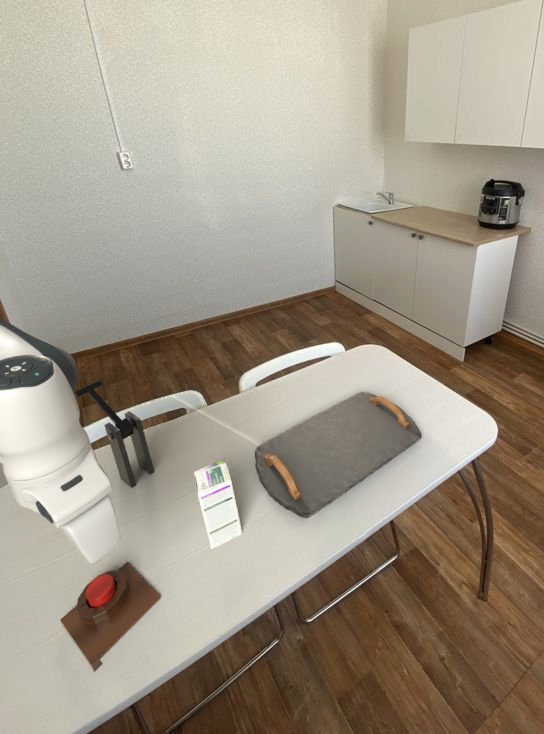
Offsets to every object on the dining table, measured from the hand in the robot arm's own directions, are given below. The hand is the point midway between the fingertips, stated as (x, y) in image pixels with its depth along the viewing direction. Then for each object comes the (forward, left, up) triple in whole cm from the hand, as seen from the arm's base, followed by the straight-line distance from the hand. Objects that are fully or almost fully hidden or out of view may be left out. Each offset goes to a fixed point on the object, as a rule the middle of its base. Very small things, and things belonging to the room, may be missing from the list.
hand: (82, 542), depth 56 cm
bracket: (-20, +16, -15) cm, 30 cm away
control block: (+2, 0, -15) cm, 15 cm away
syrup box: (+6, +18, -15) cm, 24 cm away
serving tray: (+13, +46, -15) cm, 50 cm away
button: (0, 0, -12) cm, 12 cm away
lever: (-27, +16, 0) cm, 31 cm away
